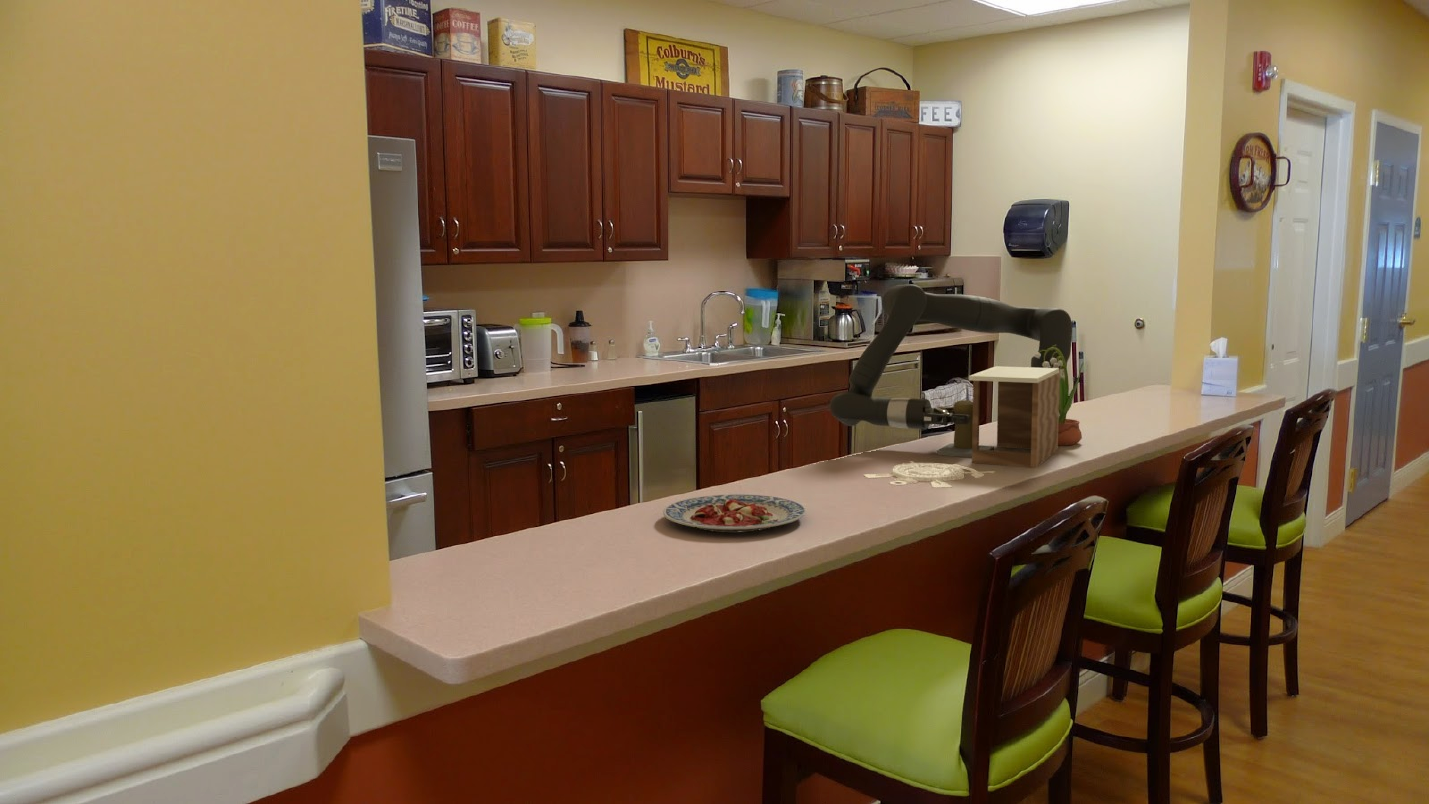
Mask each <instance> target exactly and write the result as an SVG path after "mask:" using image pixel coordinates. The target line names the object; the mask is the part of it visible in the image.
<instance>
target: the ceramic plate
mask: <svg viewBox="0 0 1429 804" xmlns="http://www.w3.org/2000/svg"><path fill="white" fill-rule="evenodd" d="M805 514H806V507H805V506H804V505H802V504H800V503H798V502H796V501H793V500H792V499H791V500H790V499H787V498H782V497H776V496H772V495H771V496H769V495H760V494H743V493H742V494H741V493H740V494H738V493H737V494H735V493H732V494H731V493H729V494H713V495H705V496H704V495H703V496H696V497H690V498H686V499H683V500H678V501H676V502H673V503H671V504H669V505H667V506H665V508H663V511H662V515H663V516H664V517H665V518H666V519H667V520H669V521H670V522H672V523H676V524H678V525H684V526H685V527H691V528H692V527H693V528H695V527H697V528H696V529H698V528H701V529H700V530H702V529H706V530H705V531H707V530H713V531H712V532H714V531H724V532H723V533H739V532H738V531H751V532H753V531H752V530H759V529H764V530H767V529H766V528H768V529H771V528H770V527H772V528H774V527H778V526H782V525H786V524H790V523H793V522H795V521H798V520H799V519H801V518H803V517H804V516H805ZM759 531H760V530H759Z"/></svg>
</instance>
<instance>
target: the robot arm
mask: <svg viewBox="0 0 1429 804" xmlns="http://www.w3.org/2000/svg"><path fill="white" fill-rule="evenodd" d="M881 306H882V309H883V311H884V313H885V314H886V315H887V316H888V318H887V319H886V322H885V324H884V325H883V327H882V328H881V329H880V331H879V333H877V335H876V336H875V338H874V339H872V340H871V342H870V344H868V345H867V347H866V348H865V349H864V351H863V352H862V354H861V355H860V357H859V358H858V360H857V362H856V364H855V365H854V367H853V369H852V371H851V373H850V375H849V378H848V383H849V390H848V392H841V393H838V394H836V395H834V396H833V397H832V398H831V400H830V403H829V411H830V413H831V415H832V416H833V417H834V418H836V420H837V421H839V422H840V423H841V424H842V425H844V426H848V427H853V426H855V425H856V426H857V424H859V423H860V422H861V421H862V422H863V421H864V422H868V423H869V424H871V425H875V426H883V427H892V428H893V427H894V428H899V429H910V430H911V429H912V430H913V429H914V430H927V429H928V428H929V427H930V426H931V425H938V426H939V425H940V426H945V427H946V426H951V425H953V424H954V425H955V424H969V422H970V416H969V415H961V414H955V413H954V411H953V406H943V405H937V406H936V407H932V403H931V402H930V400H929V399H927V398H914V397H913V398H912V397H910V398H909V397H896V398H895V397H873V393H874V390H875V388H876V386H877V384H878V382H879V381H880V380H881V377H882V375H883V373H884V371H885V370H886V368H887V366H888V364H889V363H890V361H891V359H892V357H893V355H894V354H895V352H896V351H897V349H898V347H899V346H900V344H901V343H902V341H903V340H904V338H905V337H906V336H907V334H908V333H909V332H910V331H911V329H912V328H913V326H914V325H915V324H916V322H918V321H921V322H922V321H923V322H930V323H936V324H939V325H942V326H947V327H950V328H954V329H959V330H964V331H970V332H976V333H983V334H985V333H986V334H1012V335H1017V336H1020V337H1025V338H1028V339H1031V340H1035V341H1037V342H1039V344H1038V350H1037V353H1040V354H1041V356H1040V359H1039V358H1036V357H1034V356H1035V355H1034V356H1032V357H1031V358H1030V359H1031V360H1030V367H1034V368H1044V367H1043V365H1042V364H1043V362H1044V354H1045V352H1046V351H1041V350H1047V349H1048V348H1052V346H1053V345H1056V346H1053V347H1055V348H1058V349H1059V350H1060V351H1061V353H1062V355H1063V357H1064V359H1065V362H1066V366H1067V367H1068V362H1069V359H1070V356H1071V350H1072V339H1073V321H1072V318H1071V316H1070V314H1069V313H1068V312H1067V311H1065V310H1064V309H1061V308H1057V307H1023V306H1014V305H1010V304H1008V303H1005V302H1002V301H1000V300H997V299H993V298H989V297H984V296H979V295H974V294H973V295H970V294H956V293H955V294H953V293H951V294H949V293H947V294H940V293H939V294H938V293H937V294H936V293H930V292H926V291H924V290H923V288H922V287H921V286H919V285H916V284H909V283H908V284H907V283H906V284H897V285H894V286H892V287H890V288H889V289H887V290H886V291H885V292H884V294H883V295H882V298H881ZM1040 351H1041V352H1040ZM1054 352H1056V350H1049V351H1048V352H1047V353H1046V356H1045V361H1046V362H1049V364H1050V366H1051V367H1048V368H1053V367H1054V364H1052V365H1051V362H1050V360H1051V358H1052V355H1053V353H1054ZM1058 356H1060V355H1059V353H1058V352H1057V353H1055V354H1054V355H1053V358H1057V357H1058ZM1057 360H1058V358H1057ZM1058 361H1060V358H1059V360H1058ZM1061 361H1062V359H1061ZM1057 363H1058V362H1057ZM1062 366H1063V365H1062ZM1060 367H1061V366H1059V369H1060ZM1063 371H1064V367H1062V368H1061V369H1060V371H1059V372H1060V374H1061V375H1062V373H1063ZM1063 376H1064V377H1065V375H1064V373H1063ZM1059 416H1060V414H1059Z"/></svg>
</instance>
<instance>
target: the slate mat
mask: <svg viewBox="0 0 1429 804" xmlns="http://www.w3.org/2000/svg"><path fill="white" fill-rule="evenodd" d="M953 444H954V443H948V444H947V445H945V446H942V447H941V448H939V449H936V455H938V456H948V457H949V456H951V457H962V458H963V457H965V458H972V448H957V447H954V445H953ZM979 449H981V450H995V446H992V445H980V444H979Z"/></svg>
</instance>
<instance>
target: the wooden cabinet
mask: <svg viewBox="0 0 1429 804" xmlns="http://www.w3.org/2000/svg"><path fill="white" fill-rule="evenodd" d="M968 381H972V402H973V428H972V457H971V463H973V464H986V465H999V466H1011V467H1020V468H1021V467H1024V468H1037V467H1038V466H1041V464H1043V463H1044V462H1045V461H1046V460H1047V459H1049V458H1050V457H1051V456H1052V455H1054V454H1055V453H1056V452H1057V451H1058V450H1059V449H1058V448H1059V445H1058V423H1059V385H1060V372H1059V368H1034V367H1031V366H1030V367H1026V366H999V365H998V366H997V365H995V366H993V367H990V368H987V369H985V370H982V371H979V372H976V373H974V374H971V375H970V374H969V375H968ZM981 381H982V382H997V423H996V424H997V428H996V429H997V430H996V431H997V432H996V448H1008V449H1009V448H1010V449H1011V448H1012V449H1022V450H1023V449H1024V450H1030V452H1021V451H1020V452H1019V451H1005V450H995V449H994V450H981V449H979V445H980V402H981V401H980V400H981V399H980V397H981V396H980V394H981V393H980V391H981Z"/></svg>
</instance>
